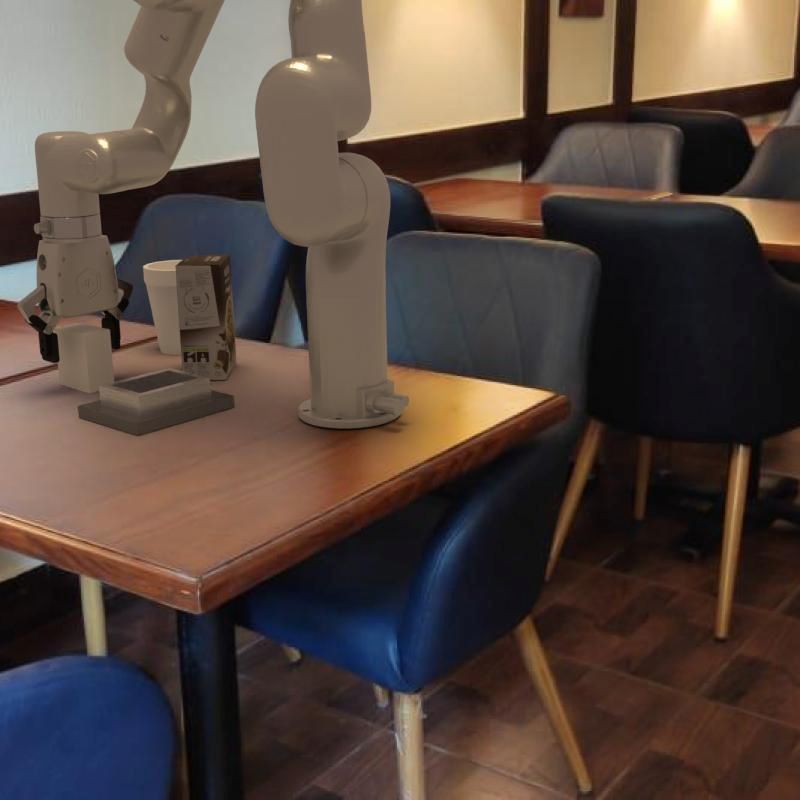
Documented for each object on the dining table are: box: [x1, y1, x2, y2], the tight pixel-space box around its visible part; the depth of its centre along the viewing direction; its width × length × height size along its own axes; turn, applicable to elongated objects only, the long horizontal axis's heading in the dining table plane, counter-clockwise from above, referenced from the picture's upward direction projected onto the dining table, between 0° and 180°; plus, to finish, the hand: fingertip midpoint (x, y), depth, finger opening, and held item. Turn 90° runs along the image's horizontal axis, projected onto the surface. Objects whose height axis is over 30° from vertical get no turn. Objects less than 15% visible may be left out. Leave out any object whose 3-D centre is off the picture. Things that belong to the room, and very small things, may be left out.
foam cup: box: [142, 259, 183, 356], centre depth 181 cm, size 10×9×13 cm
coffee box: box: [175, 253, 237, 381], centre depth 167 cm, size 9×6×16 cm
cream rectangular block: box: [53, 322, 115, 394], centre depth 163 cm, size 7×4×8 cm, turn 49°
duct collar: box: [77, 367, 235, 437], centre depth 150 cm, size 12×15×4 cm
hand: (82, 354), depth 163 cm, fingers open, 9 cm apart
